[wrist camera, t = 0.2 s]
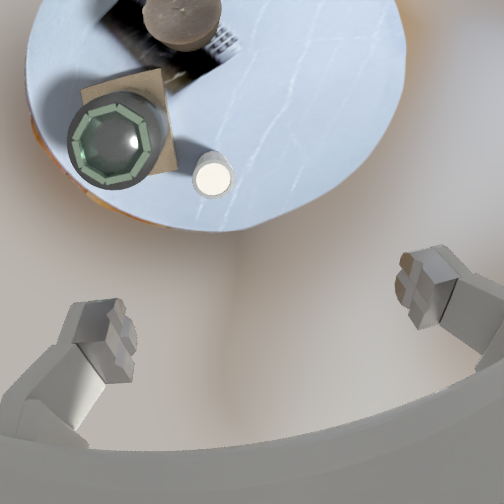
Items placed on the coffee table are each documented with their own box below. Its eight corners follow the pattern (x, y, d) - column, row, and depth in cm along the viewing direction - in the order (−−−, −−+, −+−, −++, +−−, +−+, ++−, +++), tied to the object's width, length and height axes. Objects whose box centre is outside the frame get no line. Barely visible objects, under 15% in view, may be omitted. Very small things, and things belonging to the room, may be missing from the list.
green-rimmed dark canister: (84, 88, 42) (51, 98, 31) (162, 68, 43) (148, 68, 32) (106, 181, 52) (83, 213, 41) (178, 166, 53) (171, 195, 42)
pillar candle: (217, 50, 42) (222, 42, 30) (157, 54, 41) (139, 48, 29) (218, -2, 37) (224, -28, 25) (158, 1, 36) (141, -22, 23)
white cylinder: (195, 185, 56) (194, 201, 50) (191, 149, 52) (189, 161, 46) (233, 181, 56) (236, 197, 50) (230, 145, 52) (234, 157, 47)
